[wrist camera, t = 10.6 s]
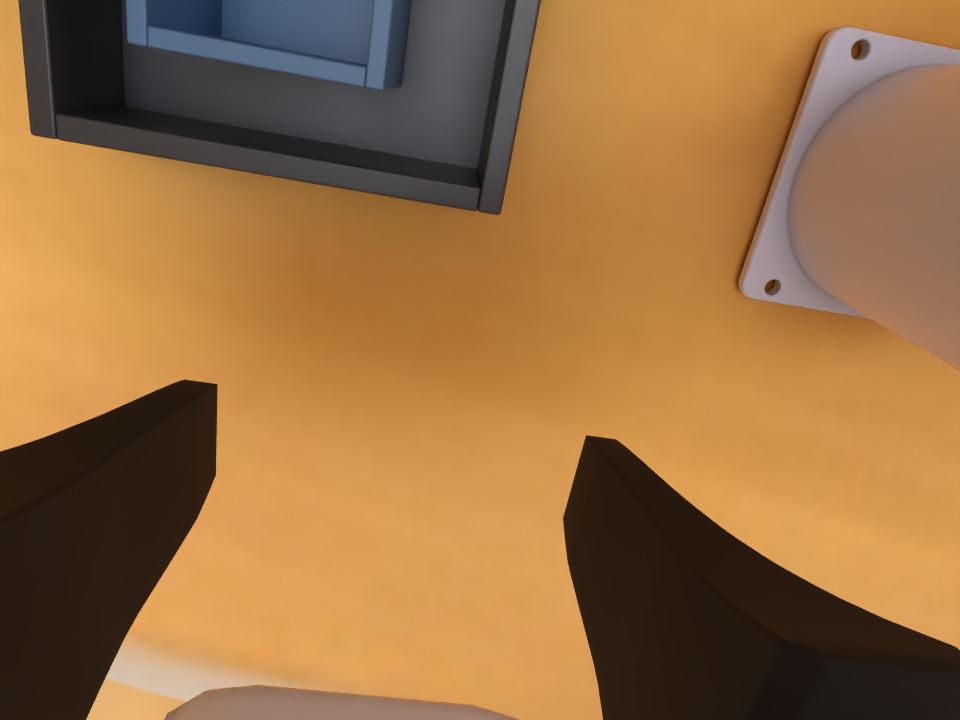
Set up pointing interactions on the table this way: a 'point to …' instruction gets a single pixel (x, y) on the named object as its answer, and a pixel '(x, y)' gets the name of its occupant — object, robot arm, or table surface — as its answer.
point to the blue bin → (283, 35)
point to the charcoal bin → (295, 102)
